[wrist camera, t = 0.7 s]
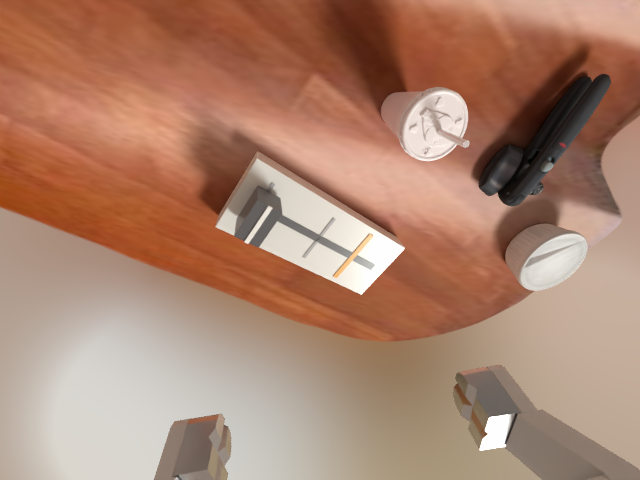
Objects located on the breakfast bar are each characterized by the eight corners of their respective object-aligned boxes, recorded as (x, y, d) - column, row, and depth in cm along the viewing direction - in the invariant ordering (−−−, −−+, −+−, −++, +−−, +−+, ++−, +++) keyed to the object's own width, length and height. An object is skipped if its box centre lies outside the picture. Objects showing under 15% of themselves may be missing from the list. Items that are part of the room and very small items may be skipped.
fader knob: (236, 219, 35) (233, 237, 32) (257, 184, 34) (257, 200, 30) (258, 229, 37) (258, 248, 33) (280, 197, 35) (282, 213, 32)
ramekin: (538, 205, 47) (567, 222, 43) (572, 233, 52) (601, 250, 47) (485, 258, 51) (506, 277, 47) (521, 279, 56) (543, 298, 51)
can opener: (496, 202, 45) (523, 219, 41) (467, 181, 43) (493, 198, 38) (599, 91, 39) (646, 97, 34) (572, 58, 36) (619, 59, 31)
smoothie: (391, 148, 38) (450, 192, 26) (358, 111, 35) (408, 144, 23) (431, 106, 36) (514, 135, 24) (400, 65, 33) (477, 74, 21)
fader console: (218, 215, 39) (215, 227, 36) (257, 150, 35) (257, 158, 32) (356, 282, 49) (361, 295, 46) (397, 237, 45) (405, 248, 43)
